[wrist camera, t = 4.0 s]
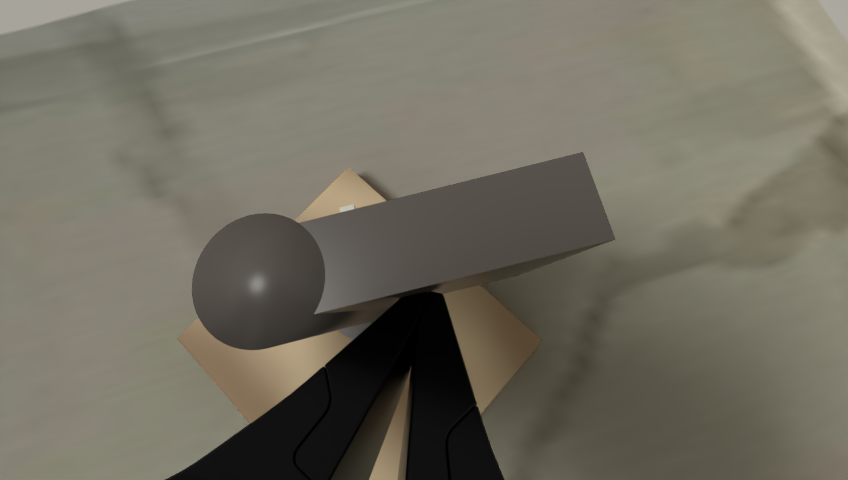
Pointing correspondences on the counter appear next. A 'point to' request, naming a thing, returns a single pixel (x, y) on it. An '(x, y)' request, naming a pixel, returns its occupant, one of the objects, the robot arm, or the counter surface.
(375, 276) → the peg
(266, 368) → the wooden board
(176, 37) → the counter surface
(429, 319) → the robot arm
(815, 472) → the counter surface
